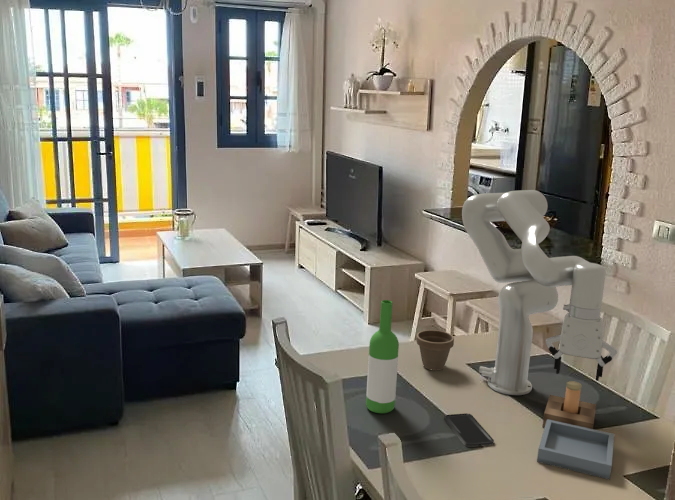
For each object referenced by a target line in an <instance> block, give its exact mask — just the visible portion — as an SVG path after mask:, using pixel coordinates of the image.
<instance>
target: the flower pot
mask: <svg viewBox="0 0 675 500" xmlns="http://www.w3.org/2000/svg"><path fill="white" fill-rule="evenodd" d="M454 342H455V337H454V336H453V335H452V334H451V333H449V332H446V331H443V330H437V329H436V330H435V329H428V330H427V329H425V330H421V331H419V332H417V333H416V344H417V346H418V347H419V352H420V359H421V363H422V366H423V365H424V366H425V367H426V368H425V367H424V366H423V367H424V368H425V369H427V368H428V369H427V370H429V369H432V370H431V371H440V370H443V369H444V368H445V366H446V364H447V360H448V357H449V354H450V351H451V349H452V348H453V347H454Z"/></svg>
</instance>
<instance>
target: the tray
mask: <svg viewBox="0 0 675 500" xmlns="http://www.w3.org/2000/svg"><path fill="white" fill-rule="evenodd" d="M543 428H544V427H543ZM614 440H615V433H611V432H607V431H603V430H598V429H594V428H593V429H590V428H585V427H580V426H576V425H571V424H567V423H562V422H558V421H553V420H549V419H547V421H546V424H545V428H544V429H543V432H542V436H541V439H540V442H539V445H538V450H537V458H536V462H537V463H541V464H544V465H549V466H551V467H556V468H561V469H566V470H568V469H569V471H574V472H578V473H582V474H585V475H590V476H593V477H597V478H602V479H605V480H610V478H611V474H612V473H611V471H612V466H613V455H614V443H615V441H614Z"/></svg>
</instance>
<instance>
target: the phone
mask: <svg viewBox="0 0 675 500" xmlns="http://www.w3.org/2000/svg"><path fill="white" fill-rule="evenodd" d="M443 420H444V422H445V423H446V424H447V426H448V427H449V428H450V429H451V430H452V432H453V433H454V435H456V437H457V438H458V439H459V441H460V442H461V444H462V445H464V446H465V447H466V448H472V447H473V448H475V447H485V446H493V445H494V441H495V439H493V437H492V436H491V435H490V433H488V431H486V430H485V428H484V427H483V426H482V425H481V423H480V422H478V420H477V419H476V418H475V417H474V416H473V415H472V414H471V413H456V414H455V413H453V414H445V415H444V416H443Z"/></svg>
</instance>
